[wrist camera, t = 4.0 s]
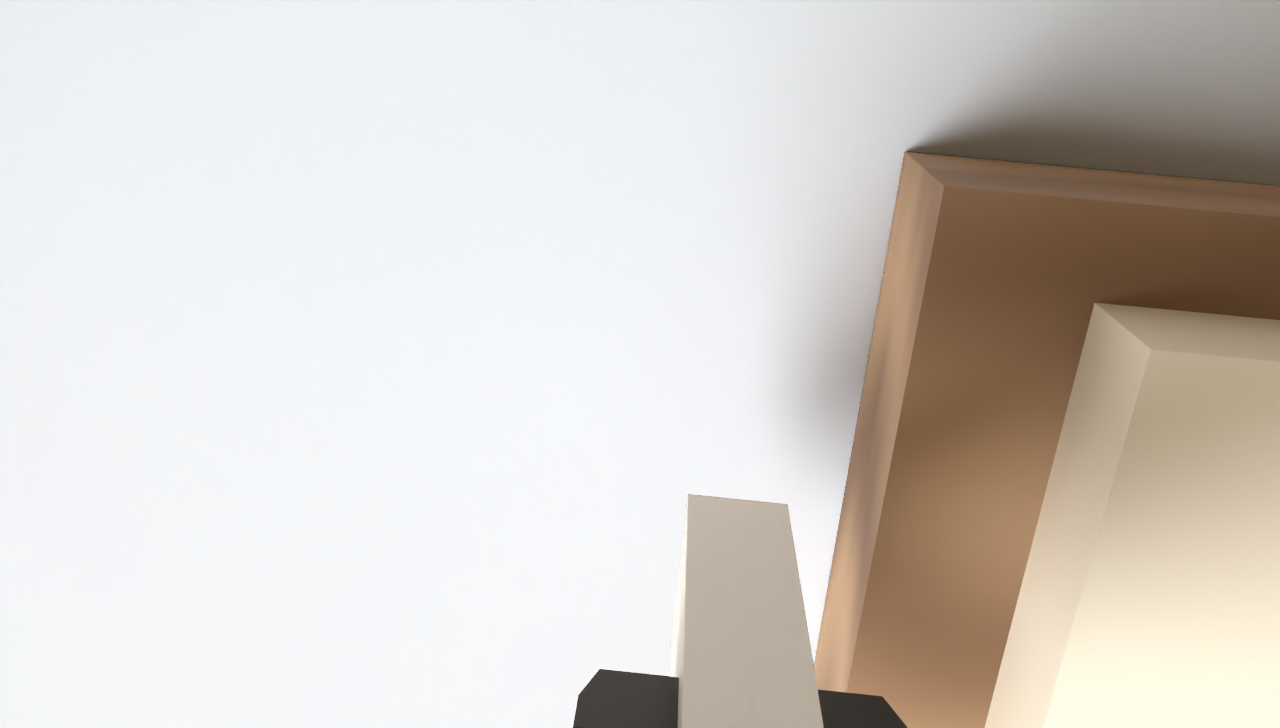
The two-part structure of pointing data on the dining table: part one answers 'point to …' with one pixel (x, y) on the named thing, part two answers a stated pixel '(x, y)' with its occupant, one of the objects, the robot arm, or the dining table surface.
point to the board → (999, 396)
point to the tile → (1156, 535)
